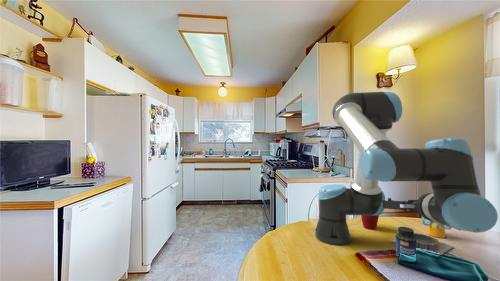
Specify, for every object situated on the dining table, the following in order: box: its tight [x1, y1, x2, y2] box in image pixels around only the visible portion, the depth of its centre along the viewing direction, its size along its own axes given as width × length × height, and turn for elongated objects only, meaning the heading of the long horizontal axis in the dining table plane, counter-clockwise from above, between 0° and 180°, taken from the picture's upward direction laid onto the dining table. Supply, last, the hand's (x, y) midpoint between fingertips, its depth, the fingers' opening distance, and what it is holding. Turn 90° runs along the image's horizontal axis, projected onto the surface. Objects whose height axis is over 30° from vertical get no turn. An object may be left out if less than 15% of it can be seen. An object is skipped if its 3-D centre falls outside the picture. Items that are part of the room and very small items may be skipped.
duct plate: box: [389, 232, 454, 254], centre depth 90 cm, size 16×16×3 cm
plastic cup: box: [360, 215, 380, 231], centre depth 108 cm, size 11×11×12 cm
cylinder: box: [421, 216, 453, 239], centre depth 99 cm, size 12×10×15 cm
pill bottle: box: [395, 226, 417, 256], centre depth 78 cm, size 6×6×11 cm
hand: (411, 204), depth 74 cm, fingers open, 13 cm apart
